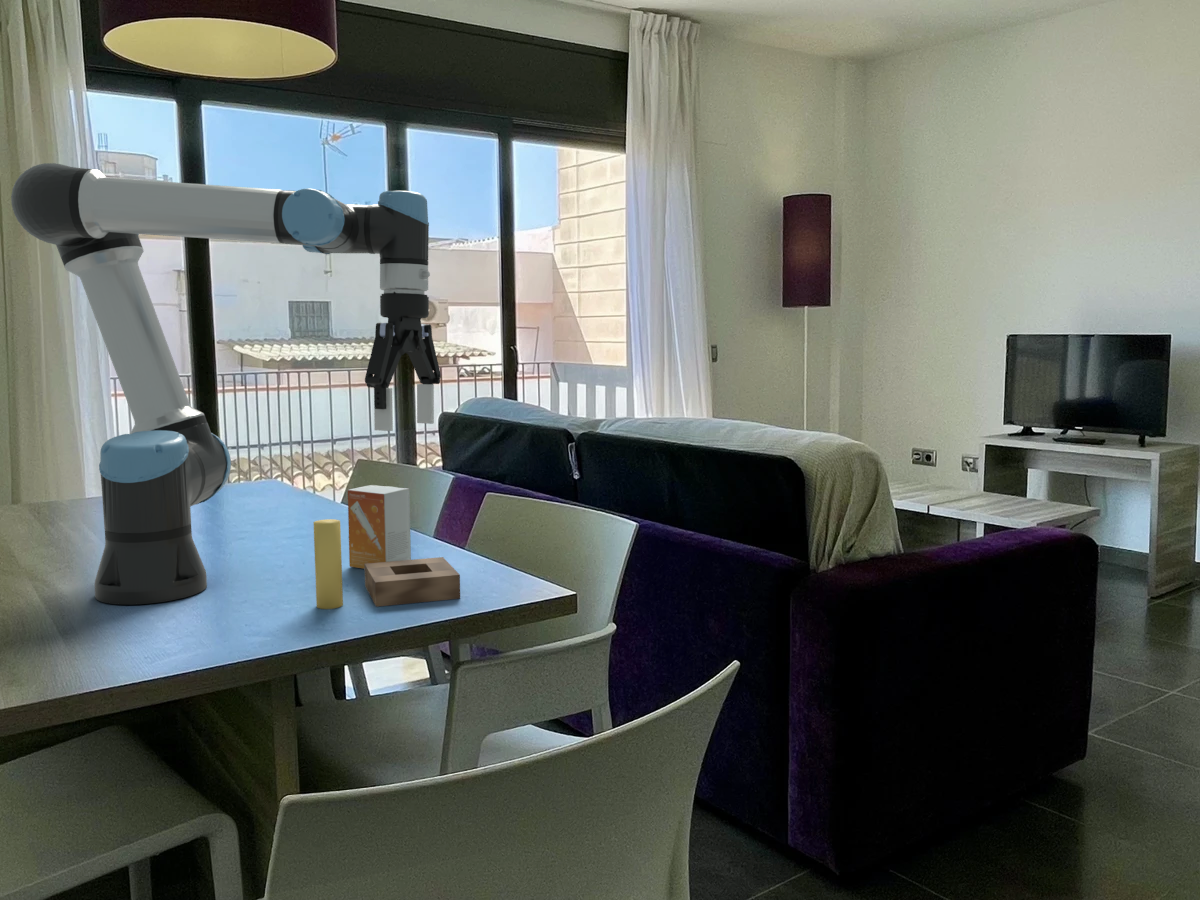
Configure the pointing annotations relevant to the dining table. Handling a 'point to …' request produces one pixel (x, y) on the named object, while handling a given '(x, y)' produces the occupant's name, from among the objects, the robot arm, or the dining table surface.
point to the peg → (328, 564)
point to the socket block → (411, 581)
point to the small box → (378, 525)
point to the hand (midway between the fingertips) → (405, 427)
